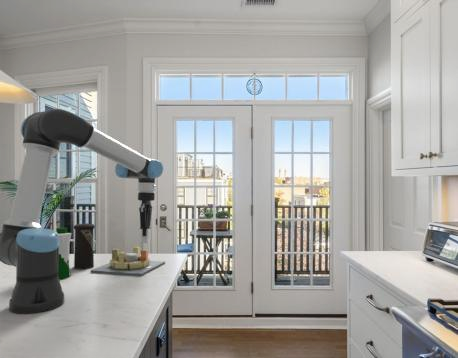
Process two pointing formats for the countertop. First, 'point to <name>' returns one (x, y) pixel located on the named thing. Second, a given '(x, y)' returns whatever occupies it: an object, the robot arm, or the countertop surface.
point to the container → (84, 246)
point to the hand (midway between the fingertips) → (144, 243)
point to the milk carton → (63, 252)
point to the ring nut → (120, 262)
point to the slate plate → (134, 272)
